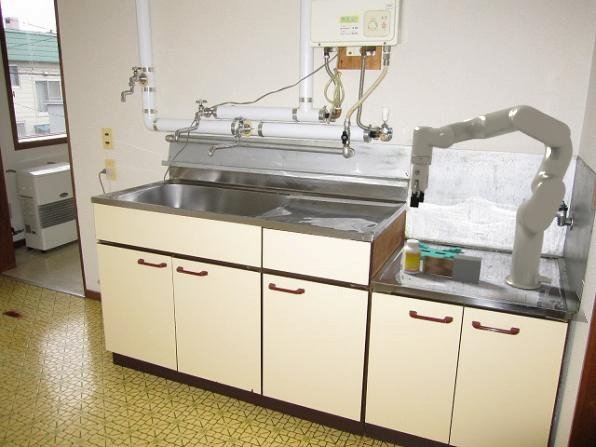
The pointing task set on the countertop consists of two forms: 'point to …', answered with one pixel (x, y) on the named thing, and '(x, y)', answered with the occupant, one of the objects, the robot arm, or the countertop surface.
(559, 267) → the countertop surface
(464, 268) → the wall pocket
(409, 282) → the countertop surface
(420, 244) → the pixel art sprite
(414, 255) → the supplement bottle
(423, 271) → the brown flat slab
